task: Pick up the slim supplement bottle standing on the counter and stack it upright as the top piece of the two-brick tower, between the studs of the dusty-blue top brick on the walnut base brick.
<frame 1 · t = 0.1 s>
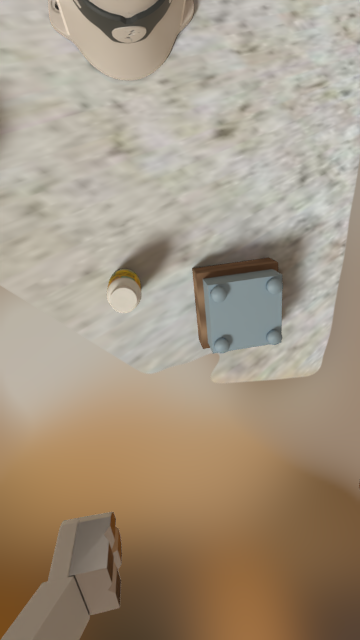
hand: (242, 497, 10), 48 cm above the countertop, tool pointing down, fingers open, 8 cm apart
base brick: (232, 300, 60), on the countertop
supplement bottle: (125, 283, 56), on the countertop
top brick: (239, 307, 56), resting on base brick
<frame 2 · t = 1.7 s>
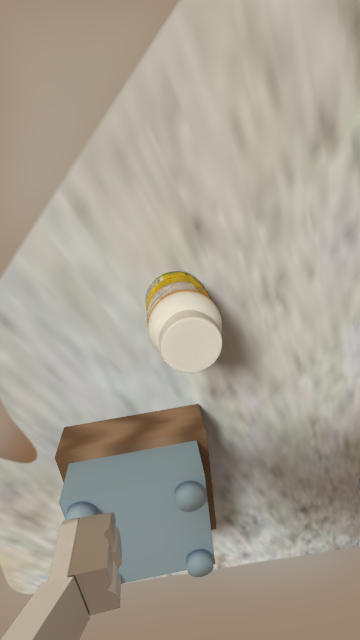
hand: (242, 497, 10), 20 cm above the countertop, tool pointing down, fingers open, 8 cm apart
base brick: (143, 465, 36), on the countertop
supplement bottle: (175, 297, 29), on the countertop
top brick: (143, 496, 32), resting on base brick
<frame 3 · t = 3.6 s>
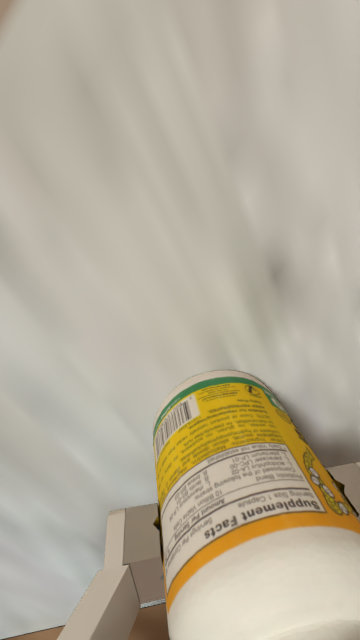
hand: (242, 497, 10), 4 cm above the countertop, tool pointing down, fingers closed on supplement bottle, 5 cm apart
supplement bottle: (214, 417, 14), on the countertop, touching gripper
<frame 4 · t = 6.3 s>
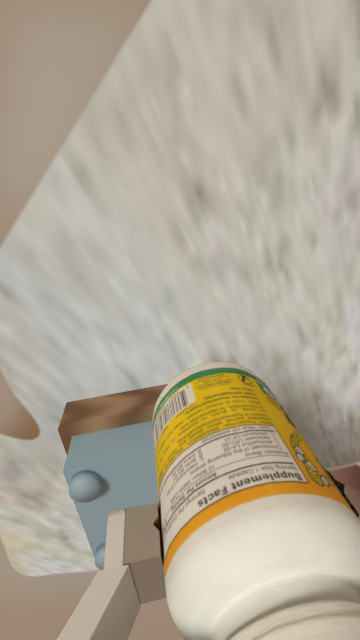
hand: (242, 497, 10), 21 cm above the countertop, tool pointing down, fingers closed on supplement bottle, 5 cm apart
base brick: (146, 441, 36), on the countertop
supplement bottle: (211, 408, 14), point 17 cm above the countertop, touching gripper
top brick: (147, 470, 32), resting on base brick
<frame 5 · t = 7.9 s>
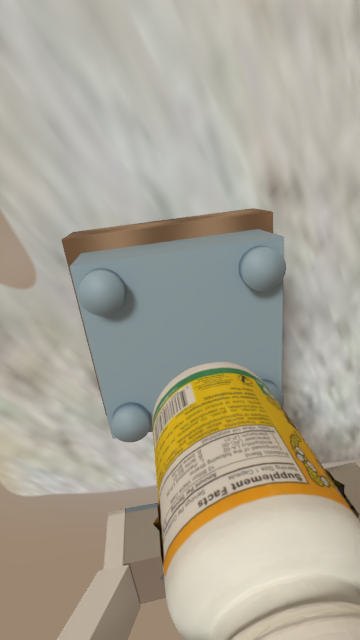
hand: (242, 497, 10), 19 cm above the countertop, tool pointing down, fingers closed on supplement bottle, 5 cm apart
base brick: (175, 304, 27), on the countertop
supplement bottle: (210, 408, 14), point 14 cm above the countertop, touching gripper
top brick: (181, 322, 24), resting on base brick
when the fingers open (14 cm above the countertop, at t = 9.2 s): supplement bottle drops 1 cm, resting on top brick.
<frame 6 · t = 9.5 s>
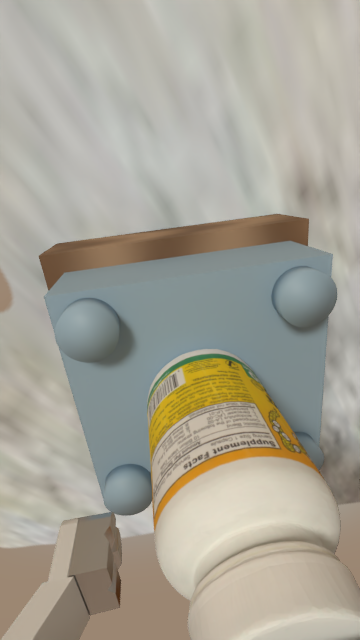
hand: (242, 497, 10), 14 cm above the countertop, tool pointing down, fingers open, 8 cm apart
base brick: (182, 329, 23), on the countertop
supplement bottle: (202, 393, 16), point 8 cm above the countertop, touching top brick
top brick: (191, 356, 19), resting on base brick
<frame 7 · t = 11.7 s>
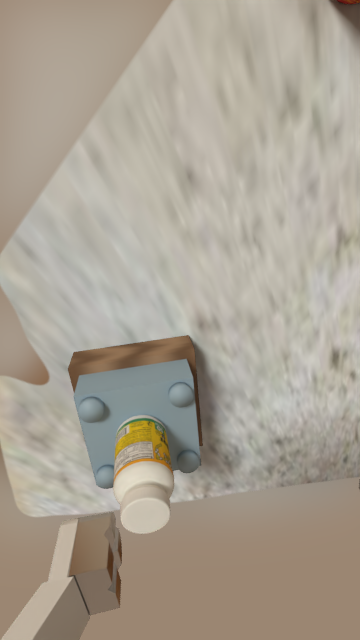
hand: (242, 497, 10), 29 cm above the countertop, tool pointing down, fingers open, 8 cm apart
base brick: (140, 391, 42), on the countertop
supplement bottle: (141, 432, 34), point 8 cm above the countertop, touching top brick
top brick: (141, 410, 38), resting on base brick
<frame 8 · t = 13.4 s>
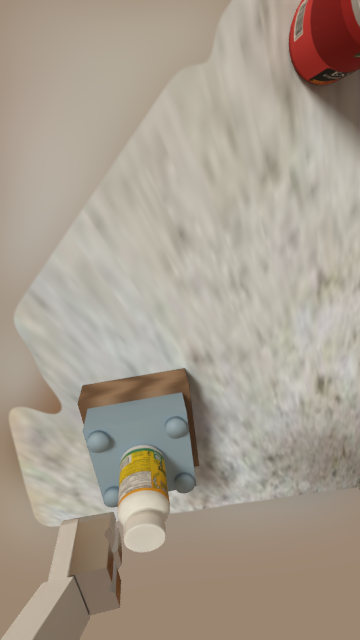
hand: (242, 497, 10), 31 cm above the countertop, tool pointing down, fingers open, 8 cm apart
base brick: (142, 417, 47), on the countertop
supplement bottle: (142, 458, 39), point 8 cm above the countertop, touching top brick
canned food: (321, 40, 32), on the countertop
top brick: (142, 437, 43), resting on base brick
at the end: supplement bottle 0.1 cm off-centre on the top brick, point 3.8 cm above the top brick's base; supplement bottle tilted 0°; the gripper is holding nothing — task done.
